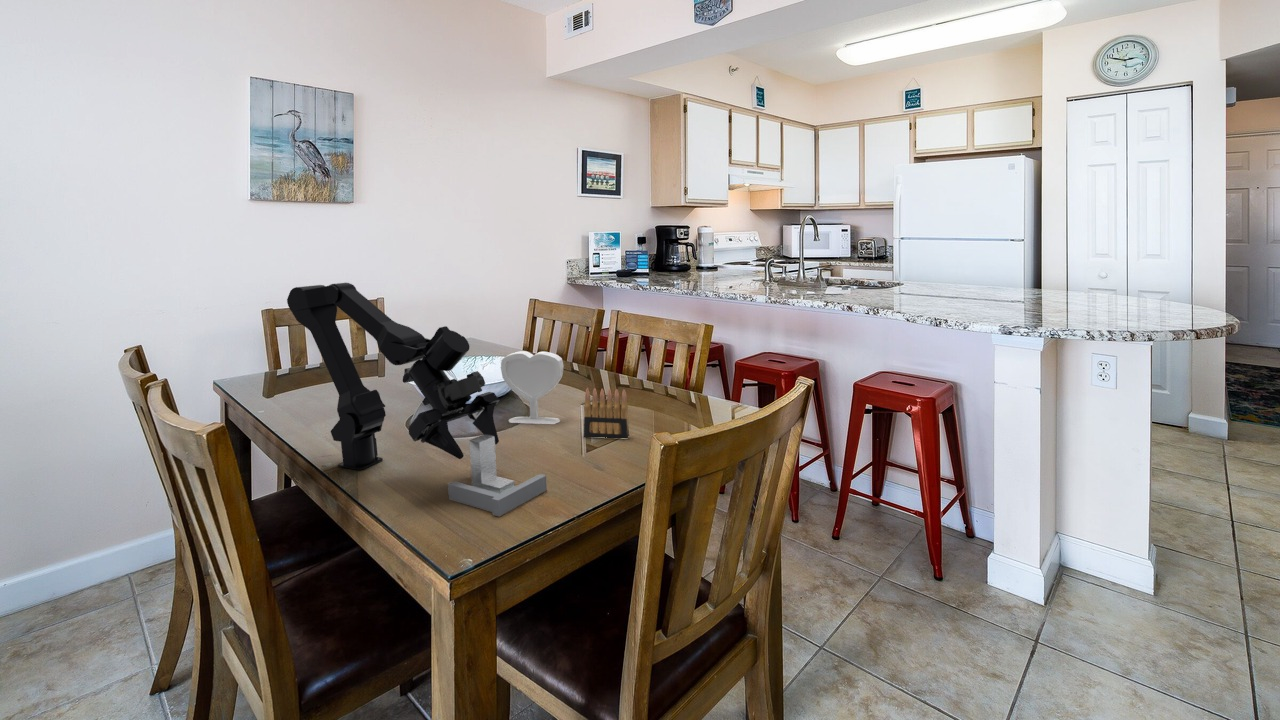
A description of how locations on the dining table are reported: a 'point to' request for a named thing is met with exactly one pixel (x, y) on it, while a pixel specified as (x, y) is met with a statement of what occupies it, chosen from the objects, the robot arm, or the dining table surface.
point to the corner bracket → (497, 495)
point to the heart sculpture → (532, 380)
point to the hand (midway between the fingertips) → (480, 450)
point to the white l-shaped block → (486, 466)
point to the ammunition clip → (606, 416)
